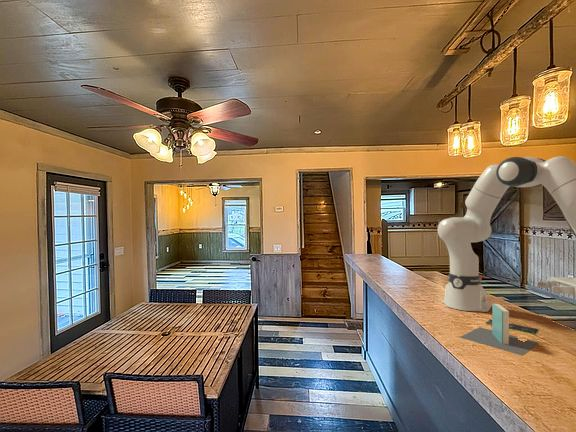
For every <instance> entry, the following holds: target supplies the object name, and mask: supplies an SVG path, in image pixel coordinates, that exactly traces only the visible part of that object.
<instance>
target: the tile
mask: <svg viewBox="0 0 576 432" xmlns="http://www.w3.org/2000/svg"><path fill="white" fill-rule="evenodd" d="M491 309H492V314H491V315H492V319H491V320H492V325H491V326H492V327H491V330H492V334H493V335H494V336H495V337H496V338H497V339H498V340H499V342H500V343H501V344H507V345H509V335H510V334H509V333H510V332H509V331H510V329H509V323H510V311H509V310H508V309H506V308H505V307H503V306H502V305H501V304H499V303H493V304H492V307H491Z"/></svg>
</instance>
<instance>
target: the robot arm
mask: <svg viewBox="0 0 576 432" xmlns="http://www.w3.org/2000/svg"><path fill="white" fill-rule="evenodd" d="M540 186H543V187H544V188H545V189H546V190H547V192H548V193H549V195H551V197H552V198H553V200H554V201H555V203H556V204H557V205H558V207H559V209H560V210H561V213H562V214H563V217H564V219H565V221H566V222H567V223H566V224H567V225H568V227H569V228H570V230H571V232H572V234H573V235H574V237H575V238H576V162H575V161H574V160H572V159H571V158H569V157H567V156H563V155H559V156H554V157H551V158H548V159H547V160H545V159H543V158H539V157H538V158H536V157H533V156H511V157H508V158H505V159H503V160H502V161H501V162H500V163H498V164H491V165H488V166H487V167H486V168H485V169H484V171H482V172H481V174H480V176H479V177H478V178H477V180H476V181H475V182H474V184H473V187H472V188H471V189H470V192H469V194H468V195H467V197H466V199H465V200H464V201H465V202H464V203H465V206H466V212H465V215H464V216H461V217H455V216H453V217H449V218H444V219H443V220H442V219H441V221H440V222H439V223H438V225H437V235H438V236H439V238H440V239H441V240H442V241H443V242H444V244H445V247H446V249H447V250H448V251H447V252H448V255H449V256H448V257H449V273H448V276H447V277H448V283H447V284H445V288H444V289H445V290H444V291H445V292H444V298H443V299H441V303H442V304H444V305H445V306H446V307H449V308H451V309H455V310H459V311H466V312H484V313H488V312H489V311H490V310H491V309H492V304H494V303H493V302H490V301H487V300H488V297H487V295H488V294H487V291H486V290H485V289H484V287H483V286H482V285H481V284H482V283H481V280H483V275H481V274H480V273H479V270H480V269H479V267H480V265H479V263H480V260H479V259H480V258H479V255H477V254H476V253H475V252H474V250H473V247H472V243H479V242H483V241H485V240H488V239H489V238H490V237H491V234H492V226H491V218H492V215H493V213H494V212H495V210H496V208H497V206H498V204H499V203H500V201H501V199H502V198H503V196H504V195H505V193H506V191H507V190H508V189H509V188H510V187H516V188H529V187H532V188H535V187H540ZM536 285H537V287H538V288H542V289H546V288H549V290H550V292H551V293H553V294H565V295H569V296H572V297H575V298H576V277H571V276H570V277H565V276H563V277H559V276H552V277H551V276H550V277H549V280H545V281H537V283H536Z"/></svg>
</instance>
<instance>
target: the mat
mask: <svg viewBox="0 0 576 432" xmlns="http://www.w3.org/2000/svg"><path fill="white" fill-rule="evenodd" d="M517 337H518V336H516V335H512V334H509V345H507V344H501V343H500V342H499V340H498V339H497V338H496V337H495V336H494V335H493V334H492V329H489V328H486V327H482V326H480V327H477V328H475V329H473V330H471V331H468V332H467V333H465V334H463V335H461V336H459V339H460V338H461V339H463V340H467V341H470V342H474V343H478V344H481V345H485V346H488V347H492V348H495V349H498V350H502V351H504V352H505V351H506V352H509V353H513V354H515V355H519V356H524V355H526V354H527V353H529V352H530V351H531V350H532V349H533V348H534V347H536V346H537V345H538V344H540V342H539V341H536V340H533V339H528V338H526V339H527V341H525V342H523V341H520V340H518V338H517Z"/></svg>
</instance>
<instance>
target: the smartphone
mask: <svg viewBox="0 0 576 432" xmlns="http://www.w3.org/2000/svg"><path fill="white" fill-rule="evenodd" d="M485 324H486V325H487V326H488V325H490V326H492V319H488V320H487V321H486V322H485ZM509 330H511V331H515V332H516V331H517V332H520V333H526V334H531V335H537V333H538V332H539V331H540V330H539V329H538V328H535V327H529V326H524V325H520V324H517V323H516V324H515V323H510V322H509Z"/></svg>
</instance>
